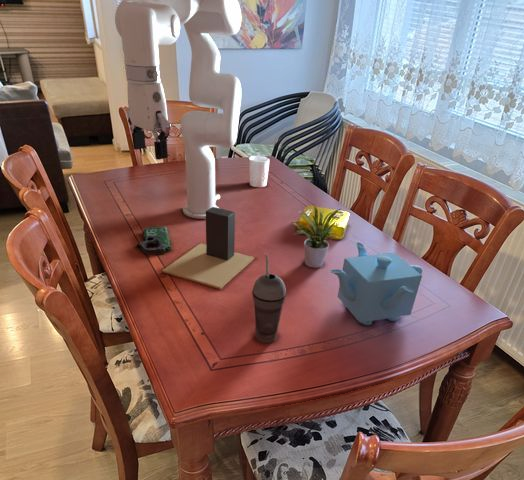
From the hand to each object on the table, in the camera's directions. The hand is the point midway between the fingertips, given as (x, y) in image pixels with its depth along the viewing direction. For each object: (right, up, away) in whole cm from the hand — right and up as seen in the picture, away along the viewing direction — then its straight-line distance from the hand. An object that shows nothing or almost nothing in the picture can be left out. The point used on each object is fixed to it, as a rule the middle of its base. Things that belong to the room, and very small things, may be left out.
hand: (150, 153), depth 115 cm
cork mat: (+13, -25, +16) cm, 32 cm away
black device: (+15, -21, +20) cm, 33 cm away
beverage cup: (+28, -46, -10) cm, 55 cm away
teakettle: (+54, -39, +1) cm, 67 cm away
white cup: (+26, +17, +71) cm, 78 cm away
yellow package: (+48, -8, +41) cm, 63 cm away
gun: (-5, -16, +25) cm, 31 cm away
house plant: (+43, -23, +21) cm, 53 cm away
